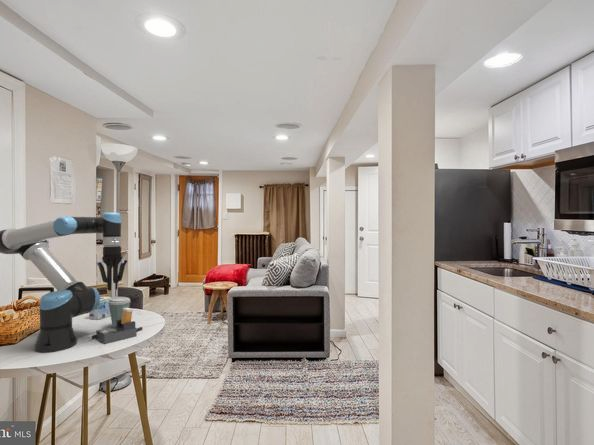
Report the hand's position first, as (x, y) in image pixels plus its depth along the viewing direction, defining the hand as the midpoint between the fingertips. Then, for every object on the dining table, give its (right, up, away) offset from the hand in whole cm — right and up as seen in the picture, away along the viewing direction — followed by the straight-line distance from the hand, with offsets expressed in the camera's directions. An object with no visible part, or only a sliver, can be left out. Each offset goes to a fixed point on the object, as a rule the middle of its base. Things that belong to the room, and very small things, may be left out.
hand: (112, 297), depth 165 cm
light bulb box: (-26, -20, +38) cm, 50 cm away
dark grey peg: (+6, -19, +12) cm, 23 cm away
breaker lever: (+4, -14, +5) cm, 15 cm away
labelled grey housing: (+1, -19, +2) cm, 19 cm away
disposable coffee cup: (-6, -20, +19) cm, 28 cm away
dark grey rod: (-3, -19, +8) cm, 21 cm away
